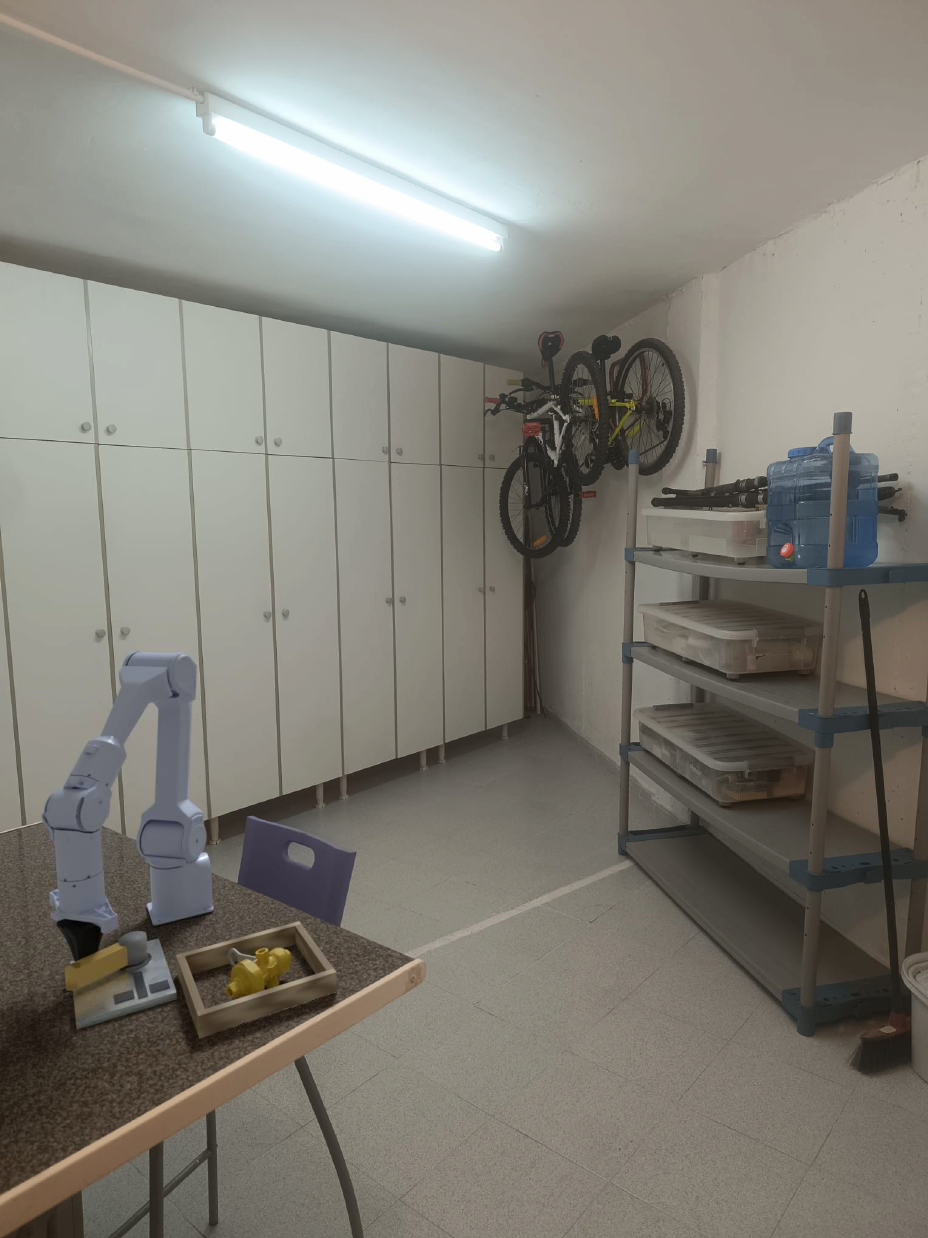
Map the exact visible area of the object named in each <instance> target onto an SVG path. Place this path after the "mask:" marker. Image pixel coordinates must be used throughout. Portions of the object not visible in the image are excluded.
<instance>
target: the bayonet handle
mask: <svg viewBox="0 0 928 1238" xmlns="http://www.w3.org/2000/svg"><path fill="white" fill-rule="evenodd" d="M147 941H148V937H147V932H145V931H141V930H135V931H130V932H127V933H125V934H123V935H121V937H119V939H118V942H116V943H114V944H111V945H110V946H107V947H105V948H102V949H99V950H98V952H96V953H94V954H91V955H89V956H87V957H85V958H83V959H80V960H78V961H76V962H74V963H72V964H67V965H66V966H65V967H64V979H65V990H66V991H68V992H73V991H74V990H77V989H79V988H81V987H83V986H85V985H87V984H89V983H91V982H94V981H96V980H98V979H100V978H102V977H104V976H106V975H108V974H110V973H112V972H114V971H116V970H118V969H120V968H123V967H125V966H130V965H136V964H139V963H141V962H143V961H144V960H146V958H147V957H148V953H147Z"/></svg>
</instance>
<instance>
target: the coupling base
mask: <svg viewBox="0 0 928 1238" xmlns="http://www.w3.org/2000/svg"><path fill="white" fill-rule="evenodd" d="M147 953H148V957H147V958H146V960H144V961H143V962H141V963H139V964H136V965H130V966H125V967H123V968H120V969H118V970H116V971H114V972H112V973H110V974H108V975H106V976H104V977H102V978H100V979H98V980H96V981H94V982H91V983H89V984H87V985H85V986H83V987H81V988H79V989H77V990H74V991H72V996H73V1005H74V1006H73V1007H74V1014H75V1025H76V1030H79V1029H80V1030H81V1029H83V1028H86V1027H90V1026H93V1025H96V1024H100V1023H103V1022H107V1021H110V1020H113V1019H117V1018H120V1017H123V1016H126V1015H130V1014H132V1013H137V1012H139V1011H143V1010H146V1009H149V1008H152V1007H155V1006H159V1005H163V1004H165V1003H169V1002H171V1001H175V1000H178V995H177V994H178V993H177V989H176V986H175V984H174V981H173V978H172V977H173V976H172V975H171V970H170V968H169V965H168V962H167V959H166V957H165V953H164V950H163V947H162V944H161V941H160V938H155V939H151V940H147ZM74 962H75V961H74V960H70V962H69V963H70V964H72V963H74Z"/></svg>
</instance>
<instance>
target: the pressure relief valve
mask: <svg viewBox="0 0 928 1238" xmlns="http://www.w3.org/2000/svg"><path fill="white" fill-rule="evenodd" d="M232 952H233V953H235V954H236V956H237V958H238V961H237V963H236V962H233V961H232V959H231V953H232ZM255 954H256V956H250V955H245V954H241V953H239V952H238V951H237V950H236V949H234V948H231V949H230V950H228V954H227V956H228V961H229V963H230V964H229V965H230V966H231V967H232V968H231V971H230V983H229V984H228V985H227V986H225V987H226V988H225V993H226V995H227V997H228V998H229V999H233V1000H234V999H236V997H238V998H237V999H239V998H242V997H245V996H248V995H251V994H254V993H258V992H261V991H264V990H265V988H266V990H267V989H270V988H273V987H277V986H280V981H279V977H282V976H283V975H284V974H286V973H287V972H288V971H289V970H290V968H291V963H292V961H293V958H292V957H293V956H292V953H291V952H290V951H289V950H288V949H285V948H275V949H273V950H272V951H270V952H269V951H268V949H267V948H262V949H259V950H257V951H256V952H255Z"/></svg>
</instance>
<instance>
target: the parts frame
mask: <svg viewBox="0 0 928 1238" xmlns="http://www.w3.org/2000/svg"><path fill="white" fill-rule="evenodd" d="M291 946H296V947H297V949H298V950H299V952H300V953H301V955H302V956H303V958H304V959H305V960H306V962H307V964H308V965H309V967H310V968H311V970H312V971H313V973H314V974H312V975H309V976H305V977H303V978H298V979H296V980H293V981H290V982H286V983H283V984H279V986H277V987H273V988H270V989H267V988H266V989H264V991H261V992H258V993H254V994H251V995H248V996H245V997H242V998H234V999H233V1000H229V1001H226V1002H223V1003H221V1004H217V1005H213V1006H210V1007H208V1008H205V1005H204V1003H203V1000H202V998H201V995H200V992H199V990H198V988H197V985H196V982H195V980H194V977H193V975H195V974H200V973H202V972H205V971H209V970H212V969H215V968H220V967H223V966H226V965H230V963H229V961H228V956H227V954H228V950H230V949H231V948H234V949H236V950H237V951H238V952H239V953H241V954H245V955H250V956H254V957H256V954H255V952H256V951H257V950H259V949H262V948H267V949H268V951H269V952H270V951H272V950H273V949H275V948H283V949H285V948H288V947H291ZM175 957H176V958H175V959H176V976H177V978H178V982H179V984H180V986H181V987H180V988H181V991H182V993H183V996H184V998H185V1002H186V1004H187V1007H188V1011H189V1014H190V1017H191V1018H192V1022H193V1025H194V1028H195V1030H196V1034H197V1036H199V1037H198V1039H199V1040H200V1039H203V1038H205V1037H204V1036H206V1037H209V1036H212V1035H215V1034H217V1033H216V1032H218V1033H221V1032H223V1031H222V1030H224V1029H227V1030H229V1029H228V1028H229V1027H233V1026H236V1025H238V1024H242V1023H244V1022H247V1021H251V1020H252V1019H256V1018H260V1017H263V1016H266V1015H269V1014H271V1013H274V1012H277V1011H279V1010H282V1009H284V1008H288V1007H292V1006H295V1005H299V1006H301V1005H300V1004H302V1003H304V1002H307V1001H311V1000H313V999H315V998H320V997H321V996H325V995H328V994H331V993H334V992H337V993H338V989H337V988H338V987H337V986H338V985H337V979H338V978H337V971H336V970H335V968H334V967H333V965H332V964H331V963H330V961H329V960H328V959H327V957H326V956H325V954H324V953H323V952H322V950H321V949H320V948H319V946H318V945H317V944H316V942H315V940H314V939H313V938H312V936H311V935H310V933H308V931H307V930H306V928H305V926H304V925H303V924H302V923H301V921H295V922H292V923H291V922H290V923H288V924H284V925H279V926H277V927H276V926H275V927H273V928H272V927H271V928H270V929H266V930H262V931H258V932H255V933H251V934H247V935H244V936H240V937H235V938H233V939H230V940H226V941H223V942H222V941H221V942H218V943H214V944H211V945H208V946H204V947H203V946H202V947H201V948H197V949H192V950H189V951H186V952H185V951H184V952H182V953H178V954H176V955H175ZM231 959H232V961H233V962H234V963H236V962H237V963H238V958H237V956H236V954H235V953H233V952H232V953H231ZM320 999H321V998H320ZM311 1002H312V1001H311ZM302 1005H303V1004H302ZM269 1016H270V1015H269ZM266 1017H267V1016H266ZM263 1018H264V1017H263ZM260 1019H261V1018H260ZM251 1022H252V1021H251ZM242 1025H243V1024H242ZM236 1027H237V1026H236ZM233 1028H234V1027H233ZM220 1031H221V1032H220ZM224 1031H225V1030H224ZM214 1033H215V1034H214Z"/></svg>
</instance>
